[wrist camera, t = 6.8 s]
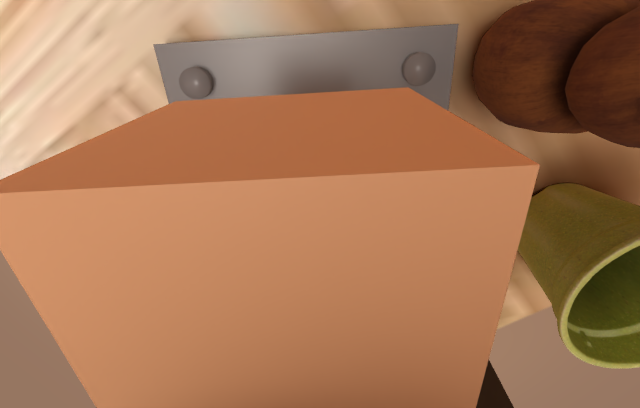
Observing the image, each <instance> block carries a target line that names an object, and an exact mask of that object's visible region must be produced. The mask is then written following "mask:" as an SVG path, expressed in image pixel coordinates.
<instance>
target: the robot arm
mask: <svg viewBox="0 0 640 408" xmlns="http://www.w3.org/2000/svg"><path fill="white" fill-rule="evenodd" d="M96 408H97V407H96ZM476 408H514V407H513V405H512V403H511V401H510V399H509V398H508V396H507V394H506V392H505V390H504V388H503V386H502V384H501V382H500V380H499V378H498V377H497V374H496V373H495V371H494V369H493V367H492V365H491V363H490V361H489V360H488V364H487V367H486V371H485V375H484V379H483V383H482V386H481V390H480V394H479V398H478V401H477V405H476Z"/></svg>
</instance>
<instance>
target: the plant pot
mask: <svg viewBox="0 0 640 408" xmlns="http://www.w3.org/2000/svg"><path fill="white" fill-rule="evenodd" d="M518 252H519V253H520V255H521V256H522V258H523V259H524V261H525V262H526V264H527V266H528V267H529V269H530V270H531V272H532V273H533V275H534V276H535V278H536V280H537V281H538V283H539V284H540V286H541V288H542V289H543V291H544V292H545V294H546V295H547V297H548V299H549V300H550V302H551V303H552V308H553V311H554V314H555V316H556V318H557V324H558V331H559V334H560V337H561V339H562V341H563V343H564V344H565V346H566V347H567V348H568V350H569V351H570V352H571V353H572V354H573V355H575V356H576V357H577V358H579V359H580V360H582V361H584V362H587V363H590V364H593V365H596V366H601V367H605V368H637V367H640V206H638V205H635V204H632V203H629V202H627V201H624V200H621V199H618V198H615V197H613V196H610V195H607V194H604V193H602V192H599V191H596V190H594V189H591V188H588V187H585V186H582V185H579V184H574V183H561V184H555V185H551V186H548V187H546V188H545V189H544V190H543V191H541V192H540V193H538V194H536V195H535V196H533V197H531V201H530V205H529V208H528V212H527V216H526V220H525V224H524V227H523V231H522V235H521V239H520V243H519V246H518Z"/></svg>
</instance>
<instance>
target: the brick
mask: <svg viewBox="0 0 640 408" xmlns="http://www.w3.org/2000/svg"><path fill="white" fill-rule="evenodd" d="M539 167H540V165H539V164H538V163H536V162H534V161H532V160H531V159H529V158H527V157H526V156H524V155H522V154H521V153H519V152H517V151H515V150H514V149H512V148H510V147H509V146H507V145H505V144H504V143H502V142H500V141H498V140H497V139H495V138H493V137H492V136H490V135H488V134H487V133H485V132H483V131H481V130H480V129H478V128H476V127H475V126H473V125H471V124H470V123H468V122H466V121H465V120H463V119H461V118H459V117H458V116H456V115H454V114H453V113H451V112H449V111H448V110H446V109H444V108H442V107H441V106H439V105H437V104H436V103H434V102H432V101H431V100H429V99H427V98H425V97H424V96H422V95H420V94H419V93H417V92H415V91H414V90H412V89H410V88H408V87H406V88H389V89H372V90H356V91H339V92H322V93H305V94H289V95H272V96H255V97H239V98H222V99H205V100H188V101H175V102H173V103H171V104H168V105H166V106H164V107H162V108H159V109H157V110H155V111H153V112H151V113H148V114H146V115H144V116H142V117H139V118H137V119H135V120H133V121H131V122H128V123H126V124H124V125H122V126H119V127H117V128H115V129H113V130H110V131H108V132H106V133H104V134H102V135H99V136H97V137H95V138H93V139H90V140H88V141H86V142H84V143H82V144H79V145H77V146H75V147H73V148H70V149H68V150H66V151H64V152H61V153H59V154H57V155H55V156H53V157H50V158H48V159H46V160H44V161H41V162H39V163H37V164H35V165H33V166H30V167H28V168H26V169H24V170H21V171H19V172H17V173H15V174H12V175H10V176H8V177H6V178H4V179H1V180H0V250H1V252H2V253H3V255H4V257H5V258H6V260H7V262H8V263H9V265H10V266H11V268H12V270H13V272H14V273H15V275H16V276H17V278H18V280H19V281H20V283H21V285H22V286H23V288H24V290H25V291H26V293H27V294H28V296H29V298H30V299H31V301H32V302H33V304H34V306H35V307H36V309H37V311H38V312H39V314H40V316H41V317H42V319H43V321H44V322H45V323H46V325H47V327H48V329H49V330H50V332H51V334H52V335H53V337H54V338H55V340H56V342H57V344H58V345H59V347H60V348H61V350H62V352H63V353H64V355H65V357H66V358H67V360H68V362H69V363H70V365H71V367H72V368H73V369H74V371H75V373H76V375H77V376H78V378H79V380H80V381H81V383H82V385H83V386H84V388H85V389H86V391H87V393H88V394H89V396H90V397H91V399H92V401H93V403H94V404H95V406H96V407H97V408H476V405H477V401H478V398H479V394H480V390H481V386H482V383H483V379H484V375H485V371H486V367H487V364H488V360H489V356H490V352H491V348H492V345H493V341H494V337H495V333H496V330H497V326H498V322H499V318H500V314H501V311H502V307H503V303H504V299H505V296H506V292H507V288H508V284H509V280H510V277H511V273H512V269H513V265H514V261H515V258H516V254H517V250H518V246H519V243H520V239H521V235H522V231H523V227H524V224H525V220H526V216H527V212H528V208H529V205H530V201H531V197H532V193H533V190H534V186H535V182H536V178H537V174H538V171H539Z"/></svg>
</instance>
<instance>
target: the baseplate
mask: <svg viewBox="0 0 640 408" xmlns="http://www.w3.org/2000/svg"><path fill="white" fill-rule="evenodd" d="M457 32H458V24H450V25H435V26H420V27H405V28H390V29H376V30H361V31H346V32H331V33H316V34H302V35H287V36H272V37H257V38H242V39H228V40H213V41H198V42H183V43H168V44H153V45H154V49H155V52H156V56H157V60H158V64H159V68H160V71H161V75H162V79H163V83H164V87H165V90H166V94H167V98H168V102H169V104H171V103H173V102H175V101H188V100H205V99H222V98H239V97H255V96H272V95H289V94H305V93H322V92H339V91H356V90H372V89H389V88H406V87H408V88H410V89H412V90H414V91H415V92H417V93H419V94H420V95H422V96H424V97H425V98H427V99H429V100H431V101H432V102H434V103H436V104H437V105H439V106H441V107H442V108H444V109H446V110H448V108H449V100H450V91H451V83H452V74H453V66H454V57H455V49H456V40H457Z"/></svg>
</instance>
